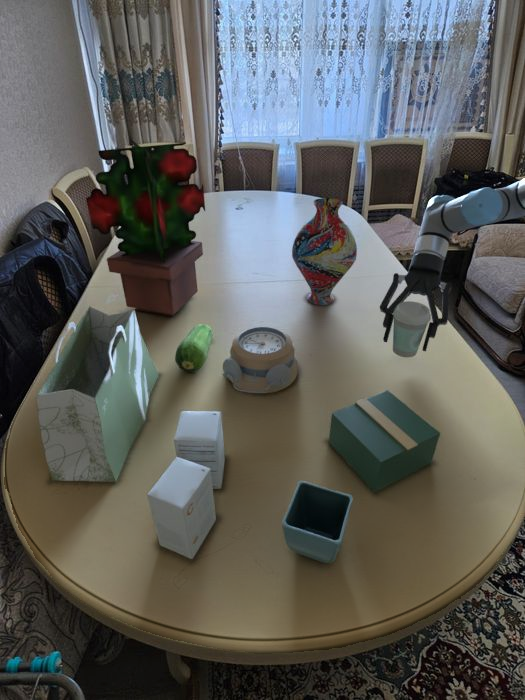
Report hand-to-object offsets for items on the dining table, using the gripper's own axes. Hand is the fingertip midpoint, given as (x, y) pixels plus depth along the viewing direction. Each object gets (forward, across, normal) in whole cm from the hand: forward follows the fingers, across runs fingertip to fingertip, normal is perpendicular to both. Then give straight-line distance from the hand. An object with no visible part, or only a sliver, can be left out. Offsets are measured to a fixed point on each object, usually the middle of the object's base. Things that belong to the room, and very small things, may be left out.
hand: (404, 345), depth 107 cm
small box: (+48, +22, +38) cm, 65 cm away
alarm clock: (+18, +29, +9) cm, 36 cm away
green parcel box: (+26, -2, +16) cm, 31 cm away
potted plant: (+3, +72, -6) cm, 73 cm away
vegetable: (+16, +48, +7) cm, 52 cm away
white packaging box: (+40, +26, +30) cm, 56 cm away
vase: (-13, +30, -22) cm, 40 cm away
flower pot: (+43, +2, +33) cm, 54 cm away
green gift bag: (+37, +51, +28) cm, 69 cm away
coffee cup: (0, 0, -5) cm, 5 cm away
